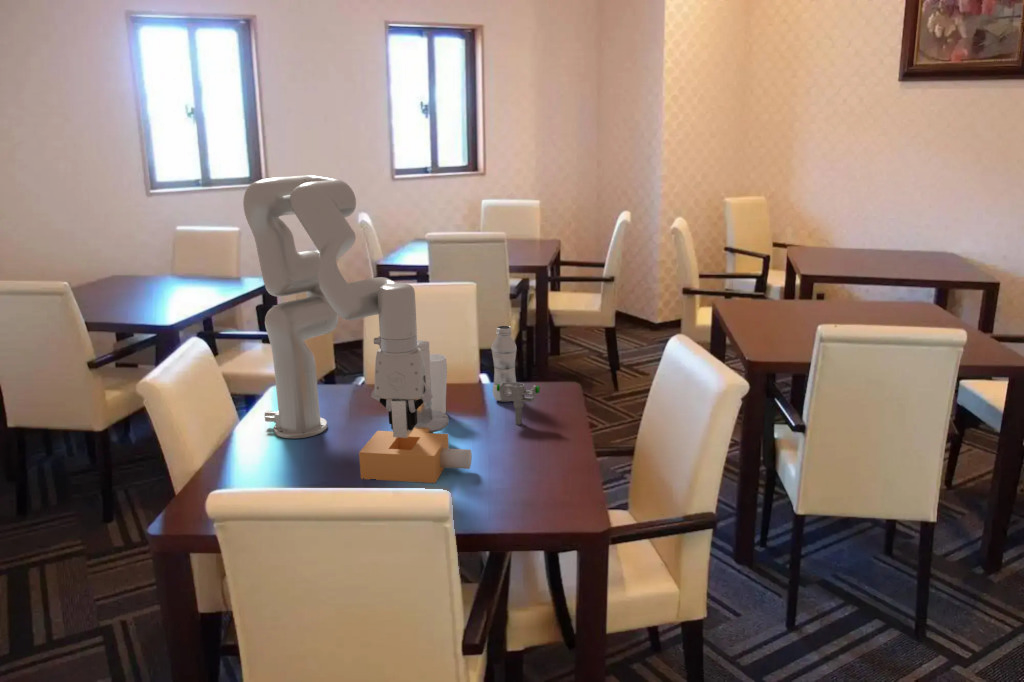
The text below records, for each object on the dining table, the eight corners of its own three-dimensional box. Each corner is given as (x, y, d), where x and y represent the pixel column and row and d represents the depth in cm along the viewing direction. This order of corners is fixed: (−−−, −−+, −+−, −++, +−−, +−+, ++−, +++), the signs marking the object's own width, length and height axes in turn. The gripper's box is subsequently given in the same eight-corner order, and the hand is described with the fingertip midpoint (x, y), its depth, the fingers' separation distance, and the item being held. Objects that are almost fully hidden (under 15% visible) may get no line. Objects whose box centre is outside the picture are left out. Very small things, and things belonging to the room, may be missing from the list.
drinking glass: (427, 420, 200) (425, 362, 196) (417, 412, 205) (415, 356, 201) (452, 415, 203) (450, 358, 199) (442, 407, 208) (440, 352, 204)
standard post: (390, 452, 181) (384, 350, 174) (405, 432, 192) (400, 335, 186) (442, 455, 179) (437, 351, 173) (454, 434, 190) (450, 337, 184)
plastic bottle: (518, 404, 210) (516, 330, 204) (492, 404, 210) (490, 330, 205) (518, 396, 216) (517, 324, 211) (493, 396, 216) (491, 324, 211)
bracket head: (360, 478, 168) (358, 452, 166) (383, 450, 182) (381, 425, 181) (464, 484, 164) (463, 457, 163) (478, 455, 179) (477, 429, 177)
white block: (393, 437, 168) (391, 401, 166) (400, 428, 173) (398, 393, 171) (407, 437, 168) (405, 401, 165) (413, 428, 172) (411, 393, 170)
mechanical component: (538, 426, 194) (538, 387, 192) (497, 424, 196) (496, 385, 194) (540, 422, 197) (540, 383, 195) (499, 420, 199) (498, 381, 197)
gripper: (354, 347, 163) (360, 432, 168) (433, 350, 160) (436, 436, 165) (366, 337, 170) (372, 419, 175) (442, 340, 167) (445, 422, 172)
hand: (403, 426), depth 170 cm, fingers closed on white block, 3 cm apart
